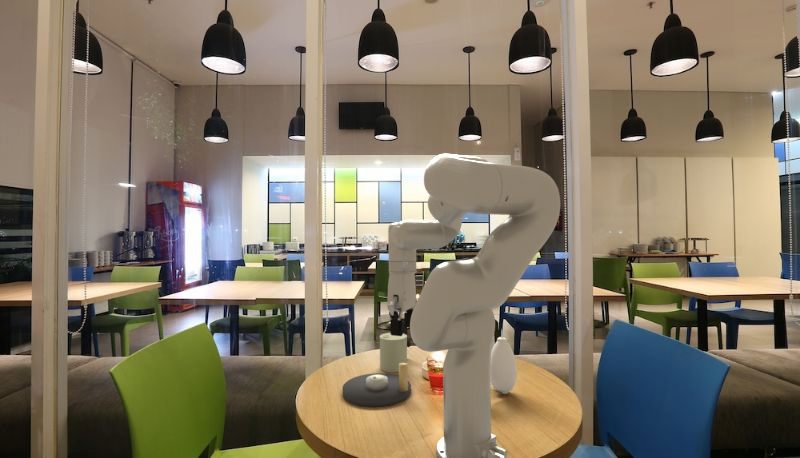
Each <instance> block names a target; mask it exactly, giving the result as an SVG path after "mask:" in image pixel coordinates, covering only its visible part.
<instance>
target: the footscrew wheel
mask: <svg viewBox="0 0 800 458" xmlns="http://www.w3.org/2000/svg"><path fill="white" fill-rule="evenodd" d="M408 365H409V363H408V362H407V363H400V364H399V372H398V375H397V374H393V373H385V372H383V373H382V372H381V373H380V372H378V373H376V372H375V373H373V372H372V373H366V374H361V375H358V376H355V377H352V378H350V379H347V381H346V382H345V383H344V384H343V385H342V397H343V399H344V400H345V401H346V402H348V403H350V404H353V405H355V406H359V407H366V408H383V407H389V406H394V405H398V404H399V403H402V402H404V401H406V400H407V399H408V398H409V397H410V396H411V393H412V383H411V382H410V381H409V375H408V374H409V371H408V370H409V366H408Z"/></svg>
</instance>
